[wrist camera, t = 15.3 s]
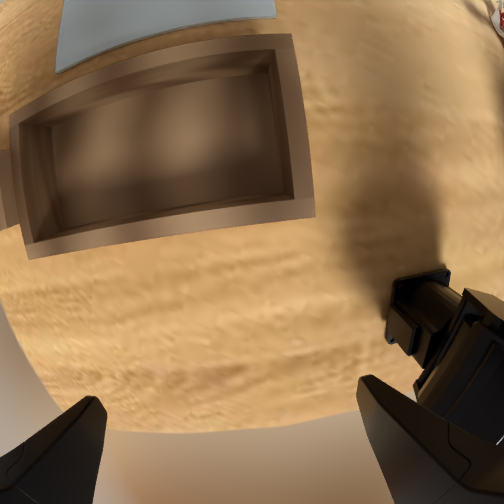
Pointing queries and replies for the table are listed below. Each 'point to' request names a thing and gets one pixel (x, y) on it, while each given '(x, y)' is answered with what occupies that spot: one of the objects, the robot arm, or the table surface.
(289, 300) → the table surface
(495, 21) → the figurine
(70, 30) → the lid
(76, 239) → the brown wooden open box
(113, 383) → the table surface
